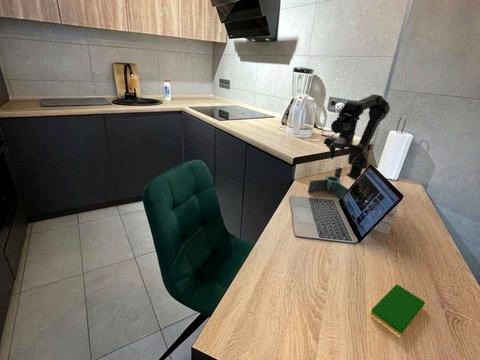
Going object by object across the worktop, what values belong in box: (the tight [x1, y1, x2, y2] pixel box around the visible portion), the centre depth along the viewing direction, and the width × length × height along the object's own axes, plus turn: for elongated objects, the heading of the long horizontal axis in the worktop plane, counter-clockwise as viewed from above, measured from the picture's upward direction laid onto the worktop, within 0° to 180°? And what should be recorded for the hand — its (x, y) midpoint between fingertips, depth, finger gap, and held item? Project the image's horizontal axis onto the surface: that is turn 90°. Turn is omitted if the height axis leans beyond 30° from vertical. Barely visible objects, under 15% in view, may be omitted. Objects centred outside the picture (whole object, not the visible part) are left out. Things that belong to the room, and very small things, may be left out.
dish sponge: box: [370, 284, 426, 336], centre depth 65 cm, size 7×14×2 cm, turn 128°
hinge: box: [307, 175, 350, 199], centre depth 119 cm, size 14×17×6 cm
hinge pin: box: [333, 167, 343, 180], centre depth 130 cm, size 3×3×8 cm
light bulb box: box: [364, 199, 399, 236], centre depth 97 cm, size 11×7×11 cm, turn 58°
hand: (341, 161), depth 126 cm, fingers open, 9 cm apart
